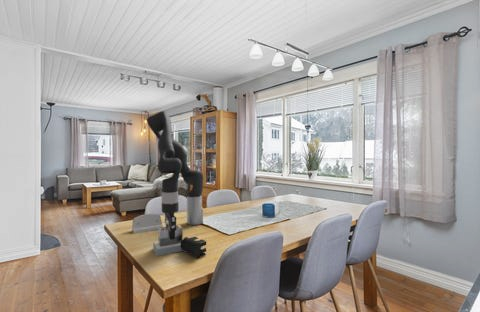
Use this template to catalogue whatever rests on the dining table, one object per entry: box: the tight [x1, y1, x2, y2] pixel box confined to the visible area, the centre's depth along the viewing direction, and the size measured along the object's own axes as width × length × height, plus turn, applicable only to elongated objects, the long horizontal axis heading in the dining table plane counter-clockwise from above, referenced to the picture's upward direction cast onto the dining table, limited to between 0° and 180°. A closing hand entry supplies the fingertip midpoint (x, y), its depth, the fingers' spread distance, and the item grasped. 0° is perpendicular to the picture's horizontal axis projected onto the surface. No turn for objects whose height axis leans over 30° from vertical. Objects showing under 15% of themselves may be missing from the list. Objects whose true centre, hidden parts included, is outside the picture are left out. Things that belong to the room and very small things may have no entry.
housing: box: [157, 224, 184, 247], centre depth 116 cm, size 5×10×8 cm, turn 117°
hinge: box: [131, 213, 164, 234], centre depth 145 cm, size 17×5×10 cm, turn 121°
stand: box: [152, 241, 184, 257], centre depth 116 cm, size 14×9×3 cm, turn 117°
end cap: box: [181, 236, 207, 259], centre depth 110 cm, size 10×7×7 cm
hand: (170, 236), depth 116 cm, fingers open, 8 cm apart
